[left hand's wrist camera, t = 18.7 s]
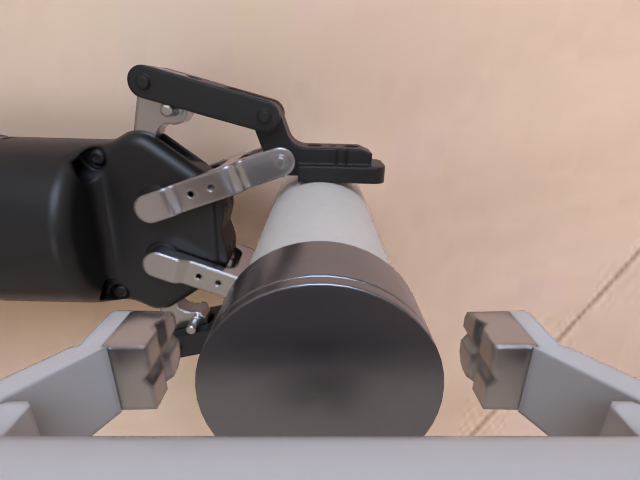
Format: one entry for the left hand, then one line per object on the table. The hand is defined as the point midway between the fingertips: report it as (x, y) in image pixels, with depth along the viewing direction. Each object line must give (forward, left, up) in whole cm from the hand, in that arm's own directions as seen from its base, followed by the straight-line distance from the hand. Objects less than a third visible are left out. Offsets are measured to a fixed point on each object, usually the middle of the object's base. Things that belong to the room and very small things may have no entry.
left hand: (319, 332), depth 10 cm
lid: (0, 0, +2) cm, 2 cm away
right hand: (-3, +1, -8) cm, 9 cm away
